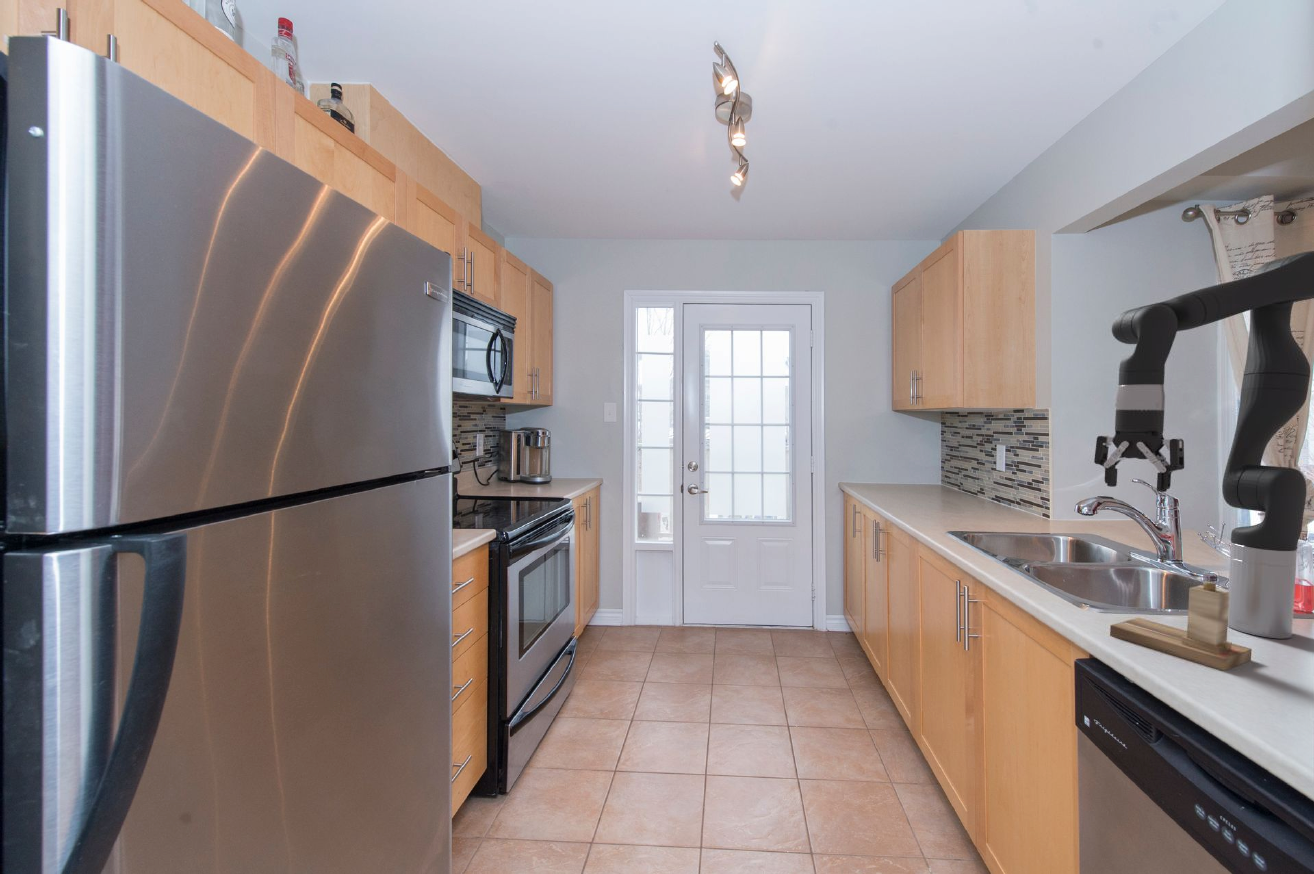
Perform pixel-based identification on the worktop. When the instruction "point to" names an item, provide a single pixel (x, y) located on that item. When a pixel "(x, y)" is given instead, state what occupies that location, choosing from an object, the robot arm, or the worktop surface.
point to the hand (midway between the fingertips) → (1135, 488)
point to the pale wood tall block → (1208, 619)
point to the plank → (1176, 643)
